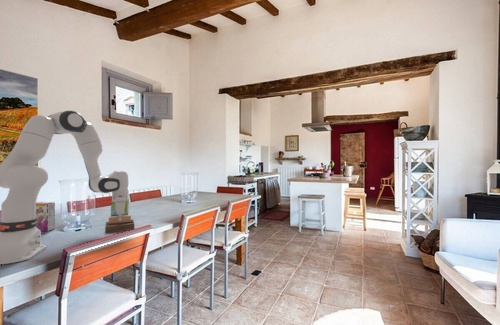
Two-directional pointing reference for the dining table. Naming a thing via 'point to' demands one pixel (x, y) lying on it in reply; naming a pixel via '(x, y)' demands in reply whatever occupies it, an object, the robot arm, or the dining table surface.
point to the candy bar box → (45, 215)
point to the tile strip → (124, 219)
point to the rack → (119, 226)
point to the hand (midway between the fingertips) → (120, 219)
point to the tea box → (113, 208)
